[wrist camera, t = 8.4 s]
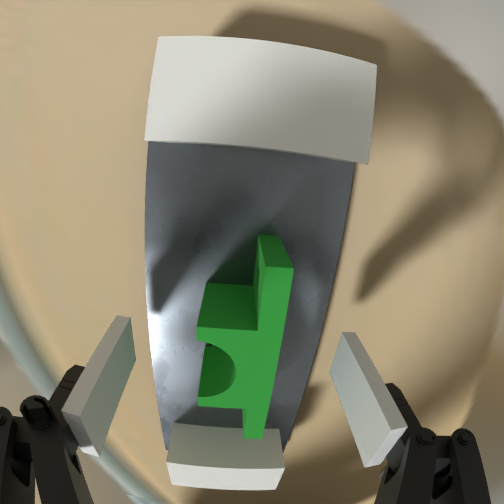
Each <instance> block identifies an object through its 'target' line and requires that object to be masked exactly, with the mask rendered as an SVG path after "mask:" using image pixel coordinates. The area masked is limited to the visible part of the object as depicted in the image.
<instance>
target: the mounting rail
mask: <svg viewBox="0 0 504 504" xmlns="http://www.w3.org/2000/svg"><path fill="white" fill-rule="evenodd" d="M376 76H377V65H376V64H373V63H369V62H366V61H363V60H359V59H356V58H352V57H348V56H344V55H340V54H336V53H332V52H328V51H323V50H319V49H314V48H309V47H304V46H298V45H292V44H286V43H280V42H272V41H265V40H256V39H246V38H233V37H216V36H165V37H159V38H158V43H157V48H156V54H155V60H154V66H153V72H152V79H151V86H150V93H149V101H148V110H147V119H146V129H145V140H144V141H149V142H148V155H147V171H146V194H145V273H146V296H147V312H148V326H149V337H150V348H151V357H152V366H153V374H154V382H155V389H156V396H157V403H158V409H159V415H160V421H161V427H162V432H163V438H164V443H165V448H166V450H168V455H167V461H166V463H167V467H168V471H169V475H170V479H171V483H172V485H179V486H188V487H197V488H209V489H225V490H276V488H277V485H278V483H279V481H280V479H281V476H282V474H283V472H284V469H285V465H284V458H283V452H284V449H285V446H286V444H287V441H288V438H289V435H290V432H291V430H292V427H293V424H294V421H295V418H296V415H297V412H298V409H299V406H300V403H301V400H302V396H303V393H304V390H305V387H306V384H307V380H308V377H309V374H310V370H311V367H312V363H313V360H314V356H315V353H316V349H317V346H318V342H319V338H320V334H321V331H322V327H323V323H324V319H325V315H326V311H327V307H328V303H329V298H330V294H331V290H332V285H333V281H334V276H335V272H336V267H337V262H338V258H339V253H340V248H341V243H342V237H343V232H344V227H345V221H346V215H347V210H348V204H349V197H350V191H351V185H352V178H353V171H354V164H355V163H362V164H368V161H369V153H370V145H371V136H372V127H373V117H374V105H375V92H376ZM258 234H261V235H274V236H279V237H280V239H281V241H282V243H283V245H284V248H285V250H286V252H287V254H288V256H289V259H290V261H291V263H292V265H293V267H294V271H293V277H292V284H291V290H290V296H289V302H288V308H287V314H286V320H285V326H284V331H283V337H282V343H281V348H280V353H279V359H278V364H277V369H276V374H275V379H274V385H273V390H272V394H271V399H270V404H269V409H268V414H267V418H266V423H265V428H264V432H263V437H262V439H243V413H242V409H236V408H218V407H205V406H198V390H199V383H200V376H201V368H202V361H203V354H204V347H205V346H215V345H213V344H210V343H207V342H203V341H197V332H196V327H197V322H198V317H199V313H200V308H201V303H202V299H203V294H204V290H205V285H206V282H208V283H221V284H236V285H251V286H253V279H254V269H255V260H256V250H257V240H258Z"/></svg>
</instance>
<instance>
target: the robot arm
mask: <svg viewBox="0 0 504 504" xmlns="http://www.w3.org/2000/svg"><path fill="white" fill-rule="evenodd" d="M135 361H136V357H135V350H134V342H133V334H132V326H131V318H130V317H123V316H116V317H115V319H114V321H113V322H112V324H111V325H110V327H109V329H108V330H107V332H106V333H105V335H104V337H103V338H102V340H101V342H100V343H99V345H98V346H97V348H96V350H95V351H94V353H93V355H92V356H91V358H90V360H89V362H88V363H87V365H86V367H83V366H78V365H74V366H73V367H72V368H70V369H69V370H68V371H67V372H66V373H65V375H64V377H63V378H62V380H61V381H60V383H59V385H58V387H57V388H56V390H55V391H54V393H53V395H52V396H51V398H50V400H49V401H48V400H47V399H46V398H45V397H42V396H37V395H34V396H30V397H28V398H26V399H25V400H23V402H22V403H21V405H20V411H21V413H22V415H23V417H16V416H12V414H11V412H10V411H9V410H8V409H7V408H4V407H0V504H35V477H36V482H37V486H38V491H39V495H40V499H41V503H42V504H94V503H93V500H92V497H91V495H90V492H89V490H88V486H87V484H86V481H85V477H84V475H83V471H82V468H81V465H80V461H79V458H78V455H77V454H76V450H77V448H78V445H79V446H80V448H81V450H82V452H84V453H88V454H91V455H94V456H98V457H99V456H100V453H101V450H102V447H103V445H104V442H105V439H106V436H107V433H108V430H109V428H110V425H111V422H112V419H113V417H114V414H115V411H116V409H117V406H118V403H119V401H120V398H121V396H122V393H123V390H124V388H125V385H126V383H127V380H128V378H129V375H130V373H131V370H132V368H133V365H134V363H135ZM330 375H331V377H332V380H333V383H334V385H335V388H336V391H337V393H338V396H339V399H340V401H341V404H342V407H343V409H344V412H345V415H346V417H347V420H348V423H349V426H350V428H351V431H352V434H353V437H354V439H355V442H356V445H357V448H358V451H359V453H360V456H361V459H362V462H363V465H364V468H365V467H370V466H375V465H379V464H381V462H382V461H383V460H384V459H385V457H386V459H387V461H388V464H387V465H386V467H385V468H384V469H383V470H382V471H381V472H380V474H379V476H378V477H381V476H382V475H383V477H382V480H381V484H380V487H379V490H378V493H377V496H376V500H375V502H374V504H491V501H490V496H489V491H488V486H487V481H486V477H485V473H484V469H483V464H482V460H481V457H480V453H479V449H478V446H477V442H476V439H475V437H474V435H473V433H472V432H470V431H469V430H467V429H463V428H460V429H457V430H456V431H454V432H453V434H452V435H451V436H436V434H435V433H434V432H433V431H432V430H430V429H428V428H423V427H421V425H420V423H419V421H418V420H417V418H416V416H415V414H414V413H413V411H412V409H411V407H410V406H409V405H408V402H407V400H406V399H405V397H404V395H403V394H402V392H401V390H400V389H399V388H398V387H397V386H395V385H394V384H393V383H388V384H385V383H384V382H383V380H382V378H381V376H380V375H379V373H378V371H377V369H376V367H375V366H374V364H373V362H372V360H371V359H370V357H369V355H368V353H367V352H366V350H365V348H364V347H363V345H362V343H361V341H360V340H359V338H358V336H357V335H356V333H355V332H342V334H341V337H340V341H339V344H338V347H337V350H336V353H335V356H334V360H333V363H332V366H331V369H330ZM383 473H384V474H383Z"/></svg>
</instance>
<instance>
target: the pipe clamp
mask: <svg viewBox="0 0 504 504" xmlns="http://www.w3.org/2000/svg"><path fill="white" fill-rule="evenodd" d="M293 271H294V267H293V265H292V263H291V261H290V259H289V256H288V254H287V252H286V250H285V248H284V245H283V243H282V241H281V239H280V237H279V236H274V235H261V234H258V240H257V250H256V260H255V269H254V279H253V286H251V285H236V284H221V283H208V282H206V285H205V290H204V294H203V299H202V303H201V308H200V313H199V317H198V322H197V327H196V332H197V341H203V342H207V343H210V344H213V345H215V346H205V347H204V354H203V361H202V368H201V376H200V383H199V390H198V406H205V407H218V408H236V409H242V413H243V439H262V437H263V432H264V428H265V423H266V418H267V414H268V409H269V404H270V399H271V394H272V390H273V385H274V379H275V374H276V369H277V364H278V359H279V353H280V348H281V343H282V337H283V331H284V326H285V320H286V314H287V308H288V302H289V296H290V290H291V284H292V277H293Z"/></svg>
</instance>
